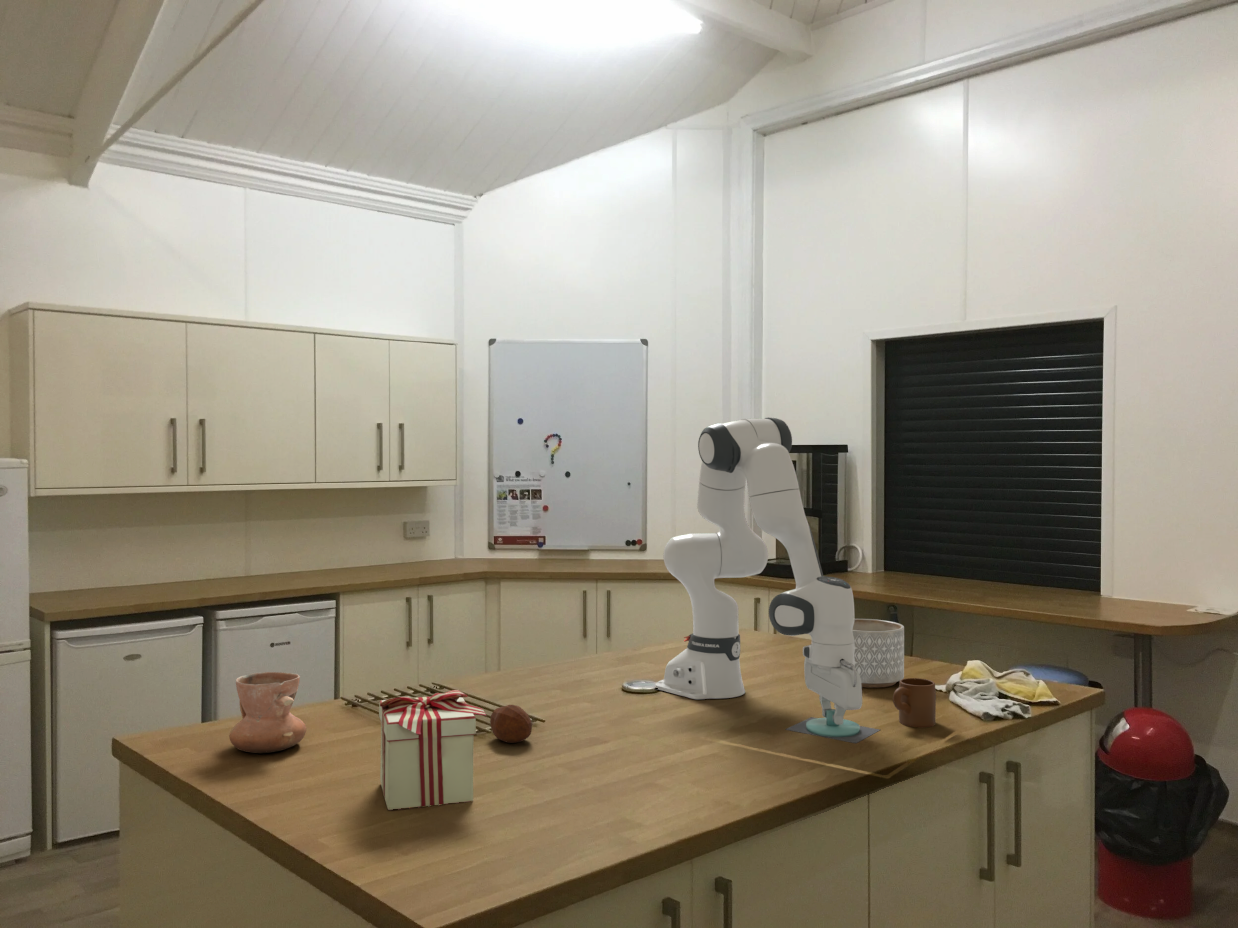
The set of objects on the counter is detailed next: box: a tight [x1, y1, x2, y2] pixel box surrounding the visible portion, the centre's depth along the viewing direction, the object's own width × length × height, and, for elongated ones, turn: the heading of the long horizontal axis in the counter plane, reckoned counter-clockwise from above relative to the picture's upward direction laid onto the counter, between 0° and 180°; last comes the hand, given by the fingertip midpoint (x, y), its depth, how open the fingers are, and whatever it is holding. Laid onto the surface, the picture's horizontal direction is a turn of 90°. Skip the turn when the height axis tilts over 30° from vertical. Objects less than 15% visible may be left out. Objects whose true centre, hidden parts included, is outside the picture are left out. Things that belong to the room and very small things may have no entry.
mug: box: [892, 677, 937, 728], centre depth 212 cm, size 12×8×9 cm, turn 130°
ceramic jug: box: [228, 671, 307, 754], centre depth 199 cm, size 18×14×14 cm
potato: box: [489, 704, 533, 744], centre depth 203 cm, size 8×11×8 cm
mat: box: [785, 716, 881, 744], centre depth 209 cm, size 16×12×1 cm
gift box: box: [378, 689, 487, 811], centre depth 171 cm, size 17×18×17 cm
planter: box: [853, 618, 905, 688], centre depth 255 cm, size 19×19×14 cm
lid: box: [806, 708, 861, 737], centre depth 209 cm, size 11×11×4 cm
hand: (832, 720), depth 209 cm, fingers open, 3 cm apart
